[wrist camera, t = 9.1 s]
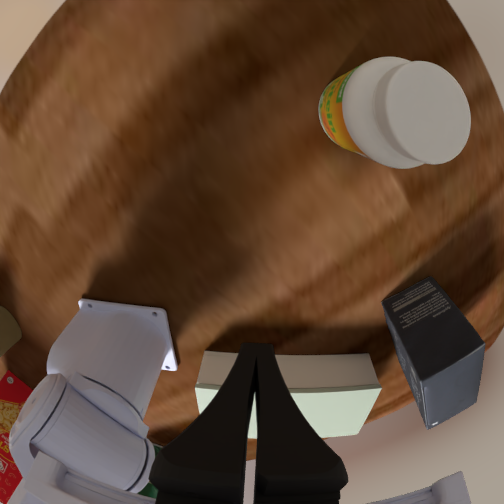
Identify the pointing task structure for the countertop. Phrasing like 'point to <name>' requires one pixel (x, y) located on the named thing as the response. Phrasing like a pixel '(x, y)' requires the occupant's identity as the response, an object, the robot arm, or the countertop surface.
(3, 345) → the olive pepper mill
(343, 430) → the lid
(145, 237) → the countertop surface
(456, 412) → the box
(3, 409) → the food packaging
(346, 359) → the keepsake box
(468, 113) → the supplement bottle
